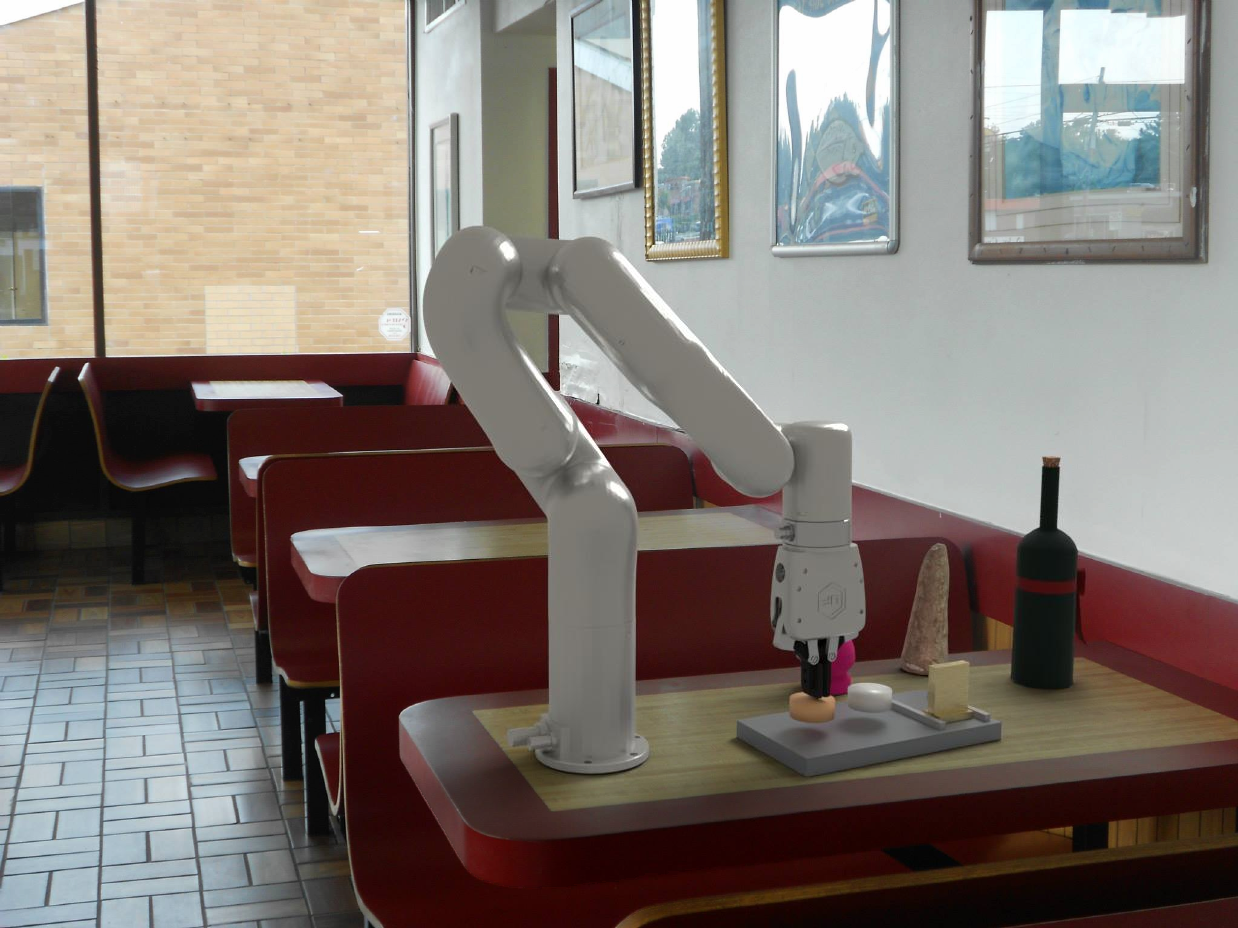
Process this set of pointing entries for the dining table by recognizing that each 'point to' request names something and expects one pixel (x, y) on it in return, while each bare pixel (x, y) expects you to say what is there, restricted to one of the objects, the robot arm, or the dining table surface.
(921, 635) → the brown speckled elongated rod
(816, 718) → the orange button
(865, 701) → the white knob
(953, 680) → the brass paddle
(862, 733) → the control panel
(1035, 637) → the wine bottle
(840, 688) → the pepper mill
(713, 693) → the dining table surface
